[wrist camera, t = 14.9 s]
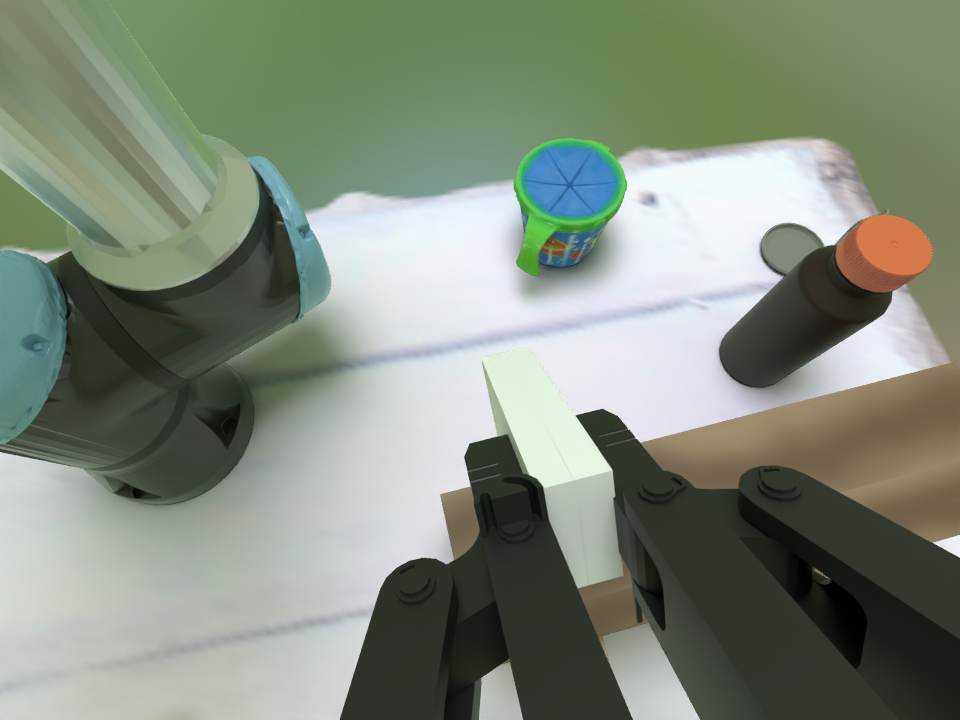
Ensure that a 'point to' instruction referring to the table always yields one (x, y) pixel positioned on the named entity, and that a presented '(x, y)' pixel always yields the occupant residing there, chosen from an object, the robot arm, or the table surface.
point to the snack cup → (566, 200)
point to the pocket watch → (793, 244)
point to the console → (807, 464)
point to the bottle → (825, 300)
